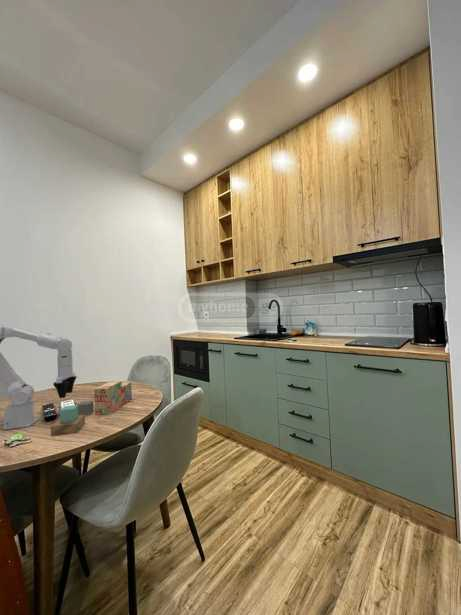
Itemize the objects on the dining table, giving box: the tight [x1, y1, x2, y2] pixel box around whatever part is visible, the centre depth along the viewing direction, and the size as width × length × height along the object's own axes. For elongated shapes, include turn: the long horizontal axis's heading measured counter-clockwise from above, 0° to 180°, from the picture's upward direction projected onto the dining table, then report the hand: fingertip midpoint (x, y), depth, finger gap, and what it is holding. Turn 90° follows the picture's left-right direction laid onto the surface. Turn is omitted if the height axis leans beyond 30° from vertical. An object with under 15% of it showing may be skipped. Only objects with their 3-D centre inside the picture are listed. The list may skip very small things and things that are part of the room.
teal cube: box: [59, 404, 79, 424], centre depth 101 cm, size 5×5×5 cm
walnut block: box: [50, 415, 86, 437], centre depth 101 cm, size 9×9×4 cm
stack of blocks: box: [93, 380, 133, 416], centre depth 126 cm, size 21×6×12 cm, turn 173°
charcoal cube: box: [77, 400, 94, 417], centre depth 118 cm, size 5×5×5 cm
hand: (65, 395), depth 116 cm, fingers open, 7 cm apart
